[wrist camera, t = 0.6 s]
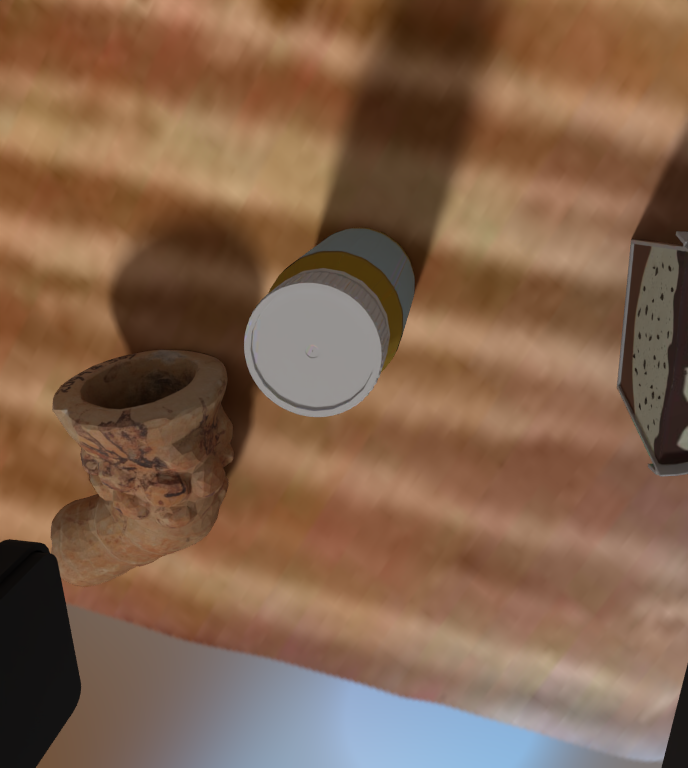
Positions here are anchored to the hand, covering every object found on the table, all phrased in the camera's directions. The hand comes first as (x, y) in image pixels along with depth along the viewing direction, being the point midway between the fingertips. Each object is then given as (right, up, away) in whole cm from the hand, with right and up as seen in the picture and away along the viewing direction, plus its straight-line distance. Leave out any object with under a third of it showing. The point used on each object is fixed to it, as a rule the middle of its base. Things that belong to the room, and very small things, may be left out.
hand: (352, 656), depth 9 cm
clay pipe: (-14, 0, +39) cm, 42 cm away
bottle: (+1, +11, +32) cm, 34 cm away
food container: (+20, +8, +30) cm, 37 cm away
